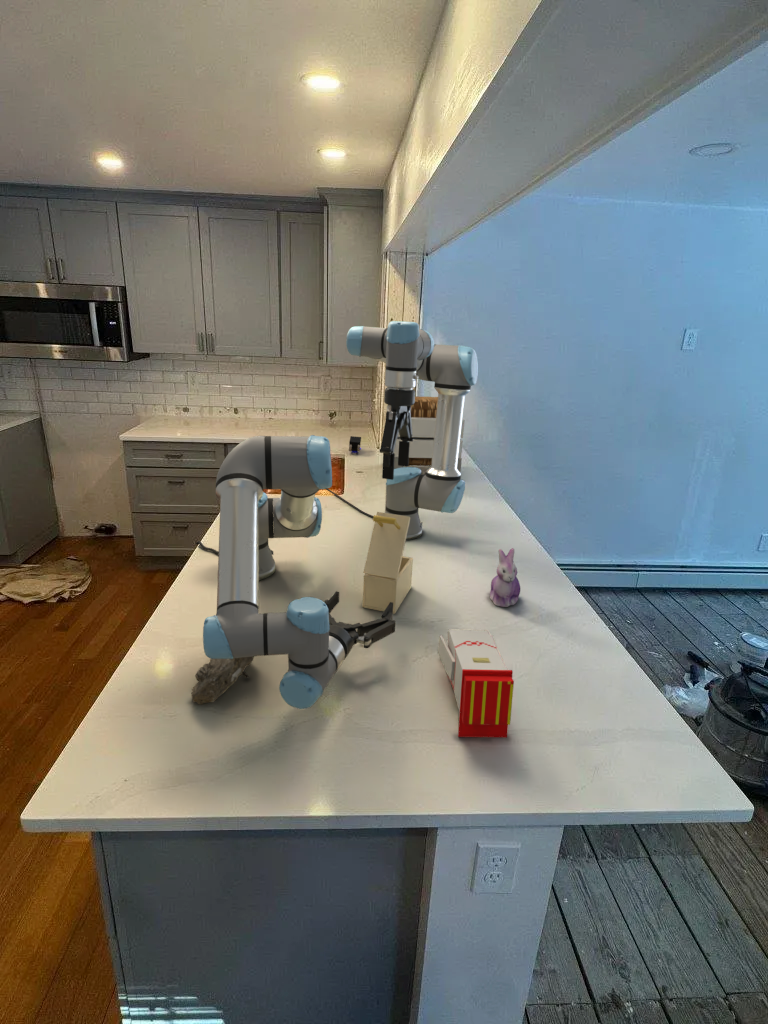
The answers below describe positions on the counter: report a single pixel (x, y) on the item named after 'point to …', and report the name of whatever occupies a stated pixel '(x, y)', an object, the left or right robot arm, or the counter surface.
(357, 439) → the figurine character
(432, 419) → the transformer
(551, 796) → the counter surface
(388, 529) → the lid
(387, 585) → the chest
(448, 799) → the counter surface
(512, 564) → the figurine
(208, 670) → the fossil
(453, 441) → the right robot arm
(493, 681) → the white and red box
